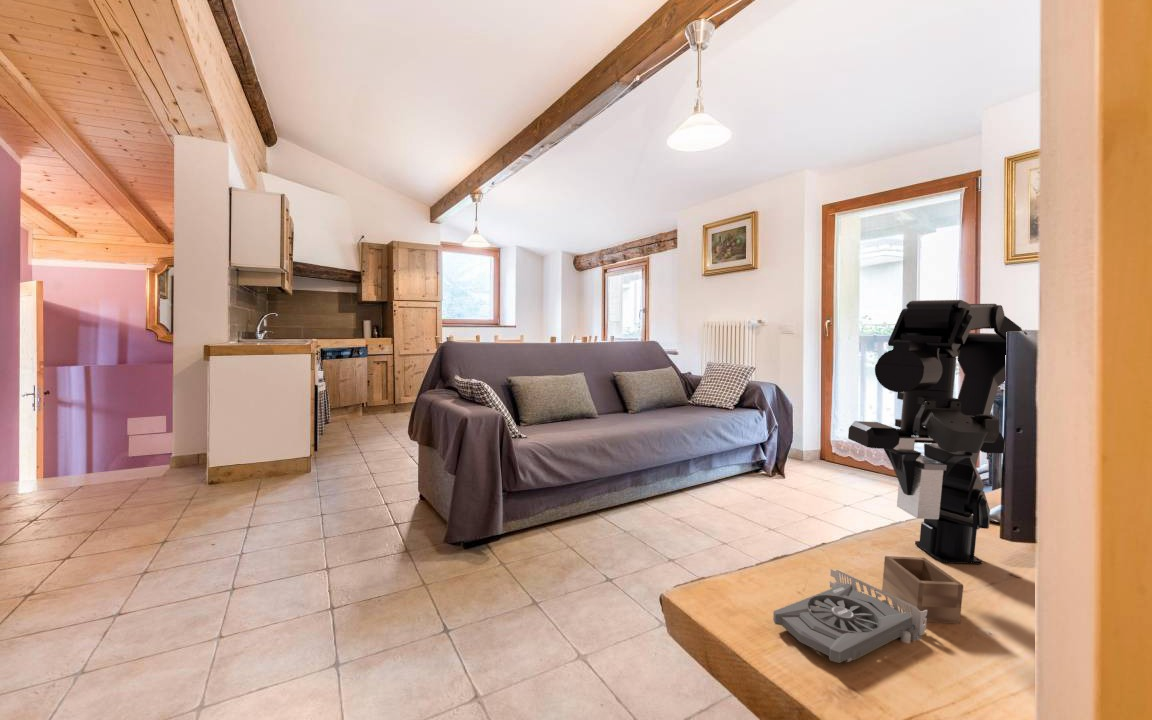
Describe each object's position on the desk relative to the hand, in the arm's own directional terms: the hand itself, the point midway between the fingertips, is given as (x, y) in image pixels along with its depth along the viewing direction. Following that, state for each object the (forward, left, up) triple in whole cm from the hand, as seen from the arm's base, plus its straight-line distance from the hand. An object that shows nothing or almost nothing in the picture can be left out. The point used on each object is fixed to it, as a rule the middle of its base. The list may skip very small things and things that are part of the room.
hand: (918, 494), depth 70 cm
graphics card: (+17, +12, -13) cm, 25 cm away
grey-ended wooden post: (0, 0, -3) cm, 3 cm away
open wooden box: (+4, +7, -12) cm, 15 cm away
